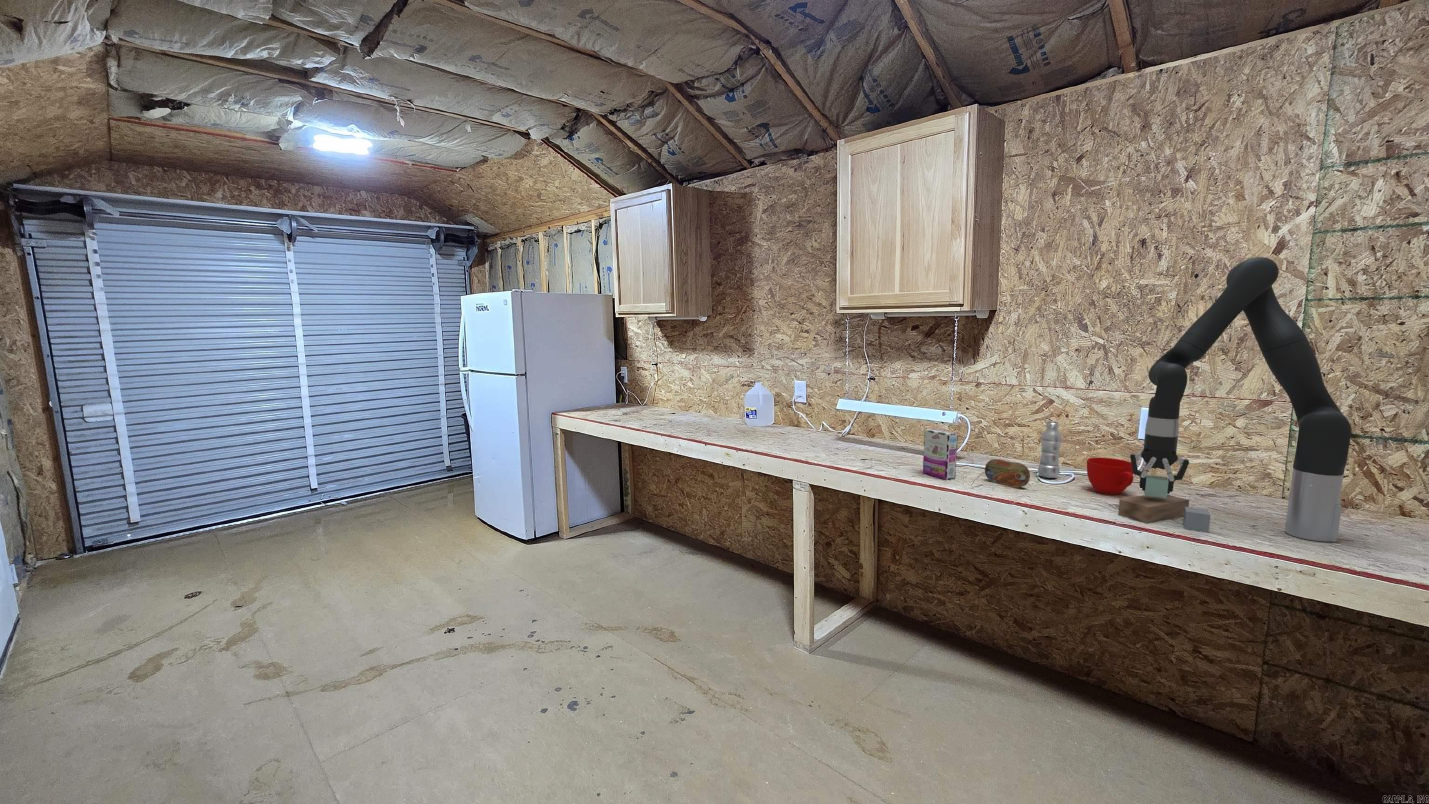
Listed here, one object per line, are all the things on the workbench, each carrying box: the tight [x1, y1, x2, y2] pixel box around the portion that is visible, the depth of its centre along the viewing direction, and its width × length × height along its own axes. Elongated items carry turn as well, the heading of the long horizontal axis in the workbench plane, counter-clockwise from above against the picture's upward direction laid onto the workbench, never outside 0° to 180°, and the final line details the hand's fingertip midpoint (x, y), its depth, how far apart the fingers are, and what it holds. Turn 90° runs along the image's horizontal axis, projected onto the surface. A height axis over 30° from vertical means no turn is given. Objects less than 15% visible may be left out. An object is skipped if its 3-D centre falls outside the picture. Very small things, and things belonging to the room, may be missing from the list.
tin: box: [984, 458, 1031, 489], centre depth 204 cm, size 15×3×8 cm, turn 33°
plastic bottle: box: [1037, 420, 1063, 479], centre depth 212 cm, size 6×7×20 cm
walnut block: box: [1117, 494, 1190, 524], centre depth 172 cm, size 8×18×5 cm, turn 113°
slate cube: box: [1182, 506, 1211, 533], centre depth 162 cm, size 5×5×5 cm
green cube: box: [1143, 474, 1169, 498], centre depth 171 cm, size 5×5×5 cm
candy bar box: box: [922, 428, 959, 481], centre depth 215 cm, size 11×5×16 cm, turn 27°
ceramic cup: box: [1086, 457, 1134, 496], centre depth 193 cm, size 13×17×10 cm
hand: (1155, 491), depth 172 cm, fingers closed on green cube, 5 cm apart
